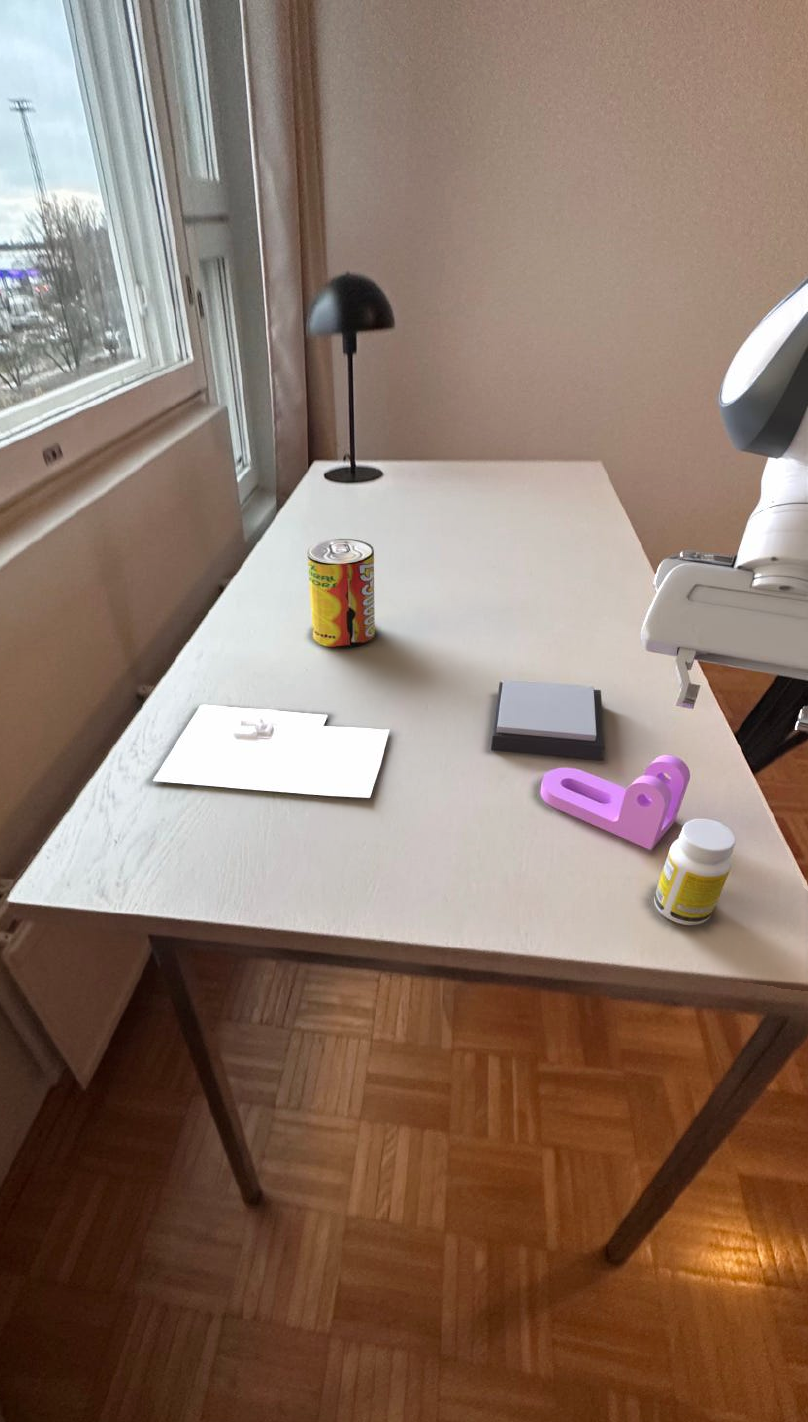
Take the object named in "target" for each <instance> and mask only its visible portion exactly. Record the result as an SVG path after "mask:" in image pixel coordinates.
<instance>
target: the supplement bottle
mask: <svg viewBox="0 0 808 1422" xmlns="http://www.w3.org/2000/svg"><path fill="white" fill-rule="evenodd" d="M736 841H737V839H736V836H735V833H734V831H733V830H732V829H730V828H729V827H728V826H727V825H725V824H724V823H722V822H719V821H717V820H714V819H709V818H694V819H691V820H689V821H687V822H685V823H684V824H683V826H682V828H681V831H680V833H679V835H678V838H676V840H674V841H673V842H672V843H671V846H670V848H669V851H668V853H667V855H666V856H667V857H666V860H665V862H664V866H663V868H662V871H661V875H660V878H659V881H658V884H657V887H656V890H655V893H654V897H653V902H654V905H655V908H656V910H658V912H659V913H660V914H661V916H663V917H665V918H667V920H670V921H672V922H674V923H676V924H679V925H684V926H697V925H698V926H699V925H701V924H703V923H705V922H707V921H708V920H709V919H710V918H711V917H712V914H713V913H714V911H715V908H716V906H717V902H718V901H719V898H720V896H721V894H722V891H723V888H724V885H725V884H726V881H727V879H728V876H729V874H730V871H731V869H732V866H733V857H732V854H733V850H734V849H735V845H736Z"/></svg>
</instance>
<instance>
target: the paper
mask: <svg viewBox="0 0 808 1422" xmlns="http://www.w3.org/2000/svg"><path fill="white" fill-rule="evenodd" d="M327 718H328V714H321V713H306V712H296V711H285V710H277V709H265V708H247V707H232V706H224V705H215V704H214V705H213V704H200V705H199V706H198V709H197V710H196V712H195V713H194V715H193V717H192V718H191V720H190V721H189V723H188V724H187V726H186V728H185V729H184V730H183V732H182V733H181V735H180V737H179V738H178V739H177V741H176V743H175V744H174V747H173V748H172V749H171V751H170V753H169V754H168V756H167V758H166V759H165V761H164V762H163V763H162V765H161V767H160V769H159V770H158V772H157V773H156V775H155V776H154V778H153V779H152V781H153V782H161V783H173V784H183V785H184V784H185V785H195V786H196V785H198V786H207V787H208V786H210V787H221V788H228V789H229V788H230V789H242V790H253V791H267V792H279V793H290V794H291V793H292V794H302V795H312V796H313V795H315V796H316V795H318V796H329V797H346V798H347V797H349V798H367V799H369V798H371V795H372V792H373V789H374V786H375V783H376V780H377V777H378V773H379V771H380V768H381V765H382V760H383V757H384V752H385V749H386V748H385V747H386V745H387V741H388V737H389V735H390V734H389V733H390V729H384V728H383V729H382V728H369V727H353V726H331V725H330V726H329V725H325V723H326V720H327Z"/></svg>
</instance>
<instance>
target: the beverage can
mask: <svg viewBox="0 0 808 1422" xmlns="http://www.w3.org/2000/svg"><path fill="white" fill-rule="evenodd" d="M306 553H307V568H308V569H307V570H308V584H309V597H310V610H311V611H310V612H311V625H312V627H311V628H312V639H314V641H315V642H316V643H317V644H319V645H321V646H324V647H327V648H332V649H351V648H356V647H359V646H362V645H365V644H367V643H369V642H370V641H371V640H372V639H373V638H374V637H375V634H376V631H375V630H376V629H375V627H376V624H375V623H376V622H375V620H376V619H375V617H376V616H375V614H376V613H375V549H374V547H373V546H372V545H371V544H370V543H369V542H366V541H363V540H359V539H354V538H353V539H352V538H335V539H327V540H323V541H320V542H317V543H315V544H313V545H311V546H310V547H309V548H308V549H307V550H306Z"/></svg>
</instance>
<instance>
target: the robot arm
mask: <svg viewBox="0 0 808 1422" xmlns="http://www.w3.org/2000/svg"><path fill="white" fill-rule="evenodd" d="M717 400H718V406H719V407H718V408H719V412H720V416H721V417H720V418H721V421H722V423H723V426H724V429H725V432H726V433H727V436H728V438H729V440H730V442H731V444H732V445H733V447H734V449H735V450H737V451H740V452H745V453H748V454H753V455H759V456H763V457H766V458H767V461H766V463H765V466H764V469H763V473H762V476H761V481H760V497H759V500H758V503H757V505H756V507H755V508H754V509H753V511H752V513H751V514H750V516H749V518H748V520H747V522H746V525H745V528H744V532H743V535H742V538H741V541H740V544H739V547H738V551H737V554H736V555H733V554H728V553H727V554H726V553H719V552H716V553H715V552H714V553H713V552H701V551H698V550H694V549H682V550H681V552H680V553H673V554H670V555H668V556H666V557H665V558H664V559H663V560H661V562H660V563H659V564H658V565H659V566H658V567H657V570H656V573H655V576H654V579H653V590H654V592H655V595H654V597H653V599H652V601H651V604H650V606H649V608H648V609H647V610H648V611H647V612H646V615H645V618H644V621H643V623H642V627H641V631H640V641H641V643H642V646H643V647H644V649H645V650H646V651H647V652H649V653H655V654H660V655H665V656H671V657H676V658H675V663H674V672H675V675H676V679H677V682H678V685H679V688H680V690H679V693H678V695H677V700H676V703H675V707H680V708H684V709H690V710H694V708H695V704H696V701H697V698H698V695H699V692H700V690H701V689H700V688H701V685H699V684H695V683H692V681H691V678H690V674H689V671H691V670H692V668H693V666H694V662H695V661H699V662H704V663H709V664H713V665H714V664H715V665H721V666H726V667H731V668H736V669H742V670H748V671H753V672H757V673H758V672H759V673H765V674H768V675H775V676H780V677H785V678H792V679H797V680H802V681H808V276H807V277H806V278H805V279H803V281H802V282H801V283H799V284H798V285H797V286H796V287H795V288H794V289H793V290H792V291H791V292H789V294H787V295H786V297H784V298H783V299H782V300H781V301H780V302H779V303H778V304H776V305H775V306H774V307H773V308H772V309H771V310H770V311H769V312H768V314H766V315H765V317H763V318H762V320H761V321H760V322H759V323H758V325H756V326H755V328H754V329H753V330H752V332H751V333H750V334H749V336H748V337H746V340H744V342H743V343H742V344H741V346H740V348H739V349H738V351H737V352H736V354H735V355H734V358H733V359H732V361H731V363H730V365H729V367H728V370H727V371H726V373H725V375H724V378H723V379H722V383H721V385H720V389H719V392H718V399H717ZM796 719H797V721H796V723H795V725H794V728H793V730H794V731H797V732H801V733H805V734H808V705H803V707H802V708H801V709H800V710H799V712H798V716H797V718H796Z"/></svg>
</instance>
